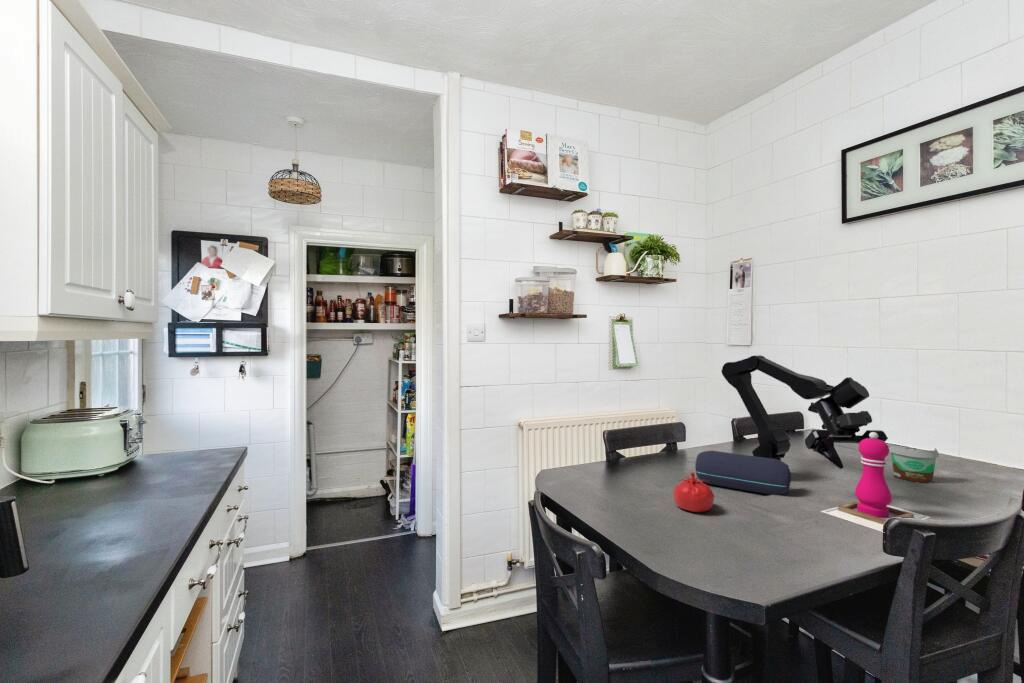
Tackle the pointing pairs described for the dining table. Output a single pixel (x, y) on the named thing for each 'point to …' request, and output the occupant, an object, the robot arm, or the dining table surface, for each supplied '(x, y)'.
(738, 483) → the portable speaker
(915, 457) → the food container
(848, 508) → the walnut socket
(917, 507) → the dining table surface
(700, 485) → the pomegranate
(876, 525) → the picture frame
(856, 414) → the robot arm
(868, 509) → the pepper mill
